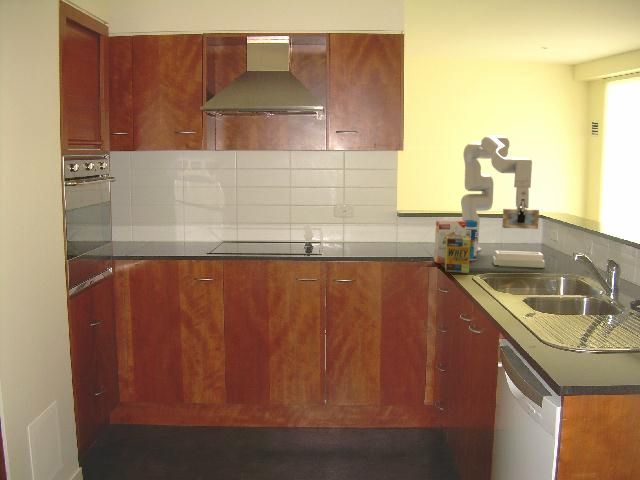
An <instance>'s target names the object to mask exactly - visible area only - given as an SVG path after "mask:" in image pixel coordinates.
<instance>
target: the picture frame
mask: <svg viewBox="0 0 640 480" xmlns="http://www.w3.org/2000/svg"><path fill="white" fill-rule="evenodd" d="M520 210H521V209H520ZM518 214H519V209H517V208H503V210H502V224H501V225H502V228H504V229H528V230H529V229H531V230H533V229H534V230H537V229H539V217H540V209H538V208H537V209H534V208H525V223H518Z"/></svg>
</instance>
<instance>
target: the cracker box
mask: <svg viewBox="0 0 640 480" xmlns="http://www.w3.org/2000/svg"><path fill="white" fill-rule="evenodd" d="M466 223H467V222H465V221H462V220H435V233H434V236H435V237H434V254H433V255H434V256H433V257H434V259H433V262H434V263H436V264H445V251H446V235H465V236H466Z"/></svg>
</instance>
